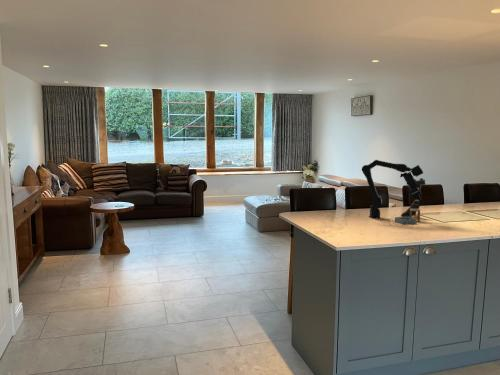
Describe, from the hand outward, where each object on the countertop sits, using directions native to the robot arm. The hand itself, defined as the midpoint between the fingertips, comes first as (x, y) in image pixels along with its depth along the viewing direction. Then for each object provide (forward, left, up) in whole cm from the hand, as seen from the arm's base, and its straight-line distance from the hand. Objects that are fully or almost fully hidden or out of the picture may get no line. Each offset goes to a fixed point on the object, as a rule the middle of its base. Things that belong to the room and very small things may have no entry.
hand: (421, 199), depth 291 cm
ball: (-5, -1, -13) cm, 14 cm away
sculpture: (0, +13, -15) cm, 20 cm away
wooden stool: (-5, -1, -15) cm, 16 cm away
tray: (-15, -7, -15) cm, 22 cm away
